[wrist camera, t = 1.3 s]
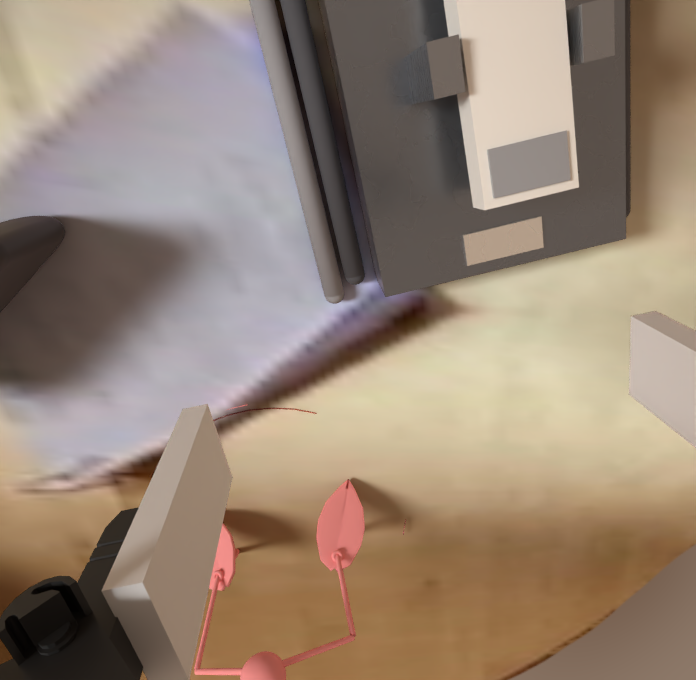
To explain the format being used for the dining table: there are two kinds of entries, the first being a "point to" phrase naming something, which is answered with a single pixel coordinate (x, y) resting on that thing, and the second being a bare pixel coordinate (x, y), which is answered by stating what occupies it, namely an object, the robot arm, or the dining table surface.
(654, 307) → the dining table surface
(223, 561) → the figurine
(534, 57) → the rocker
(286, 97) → the rods
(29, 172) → the dining table surface
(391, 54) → the lever switch plate
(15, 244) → the black rounded flat block
